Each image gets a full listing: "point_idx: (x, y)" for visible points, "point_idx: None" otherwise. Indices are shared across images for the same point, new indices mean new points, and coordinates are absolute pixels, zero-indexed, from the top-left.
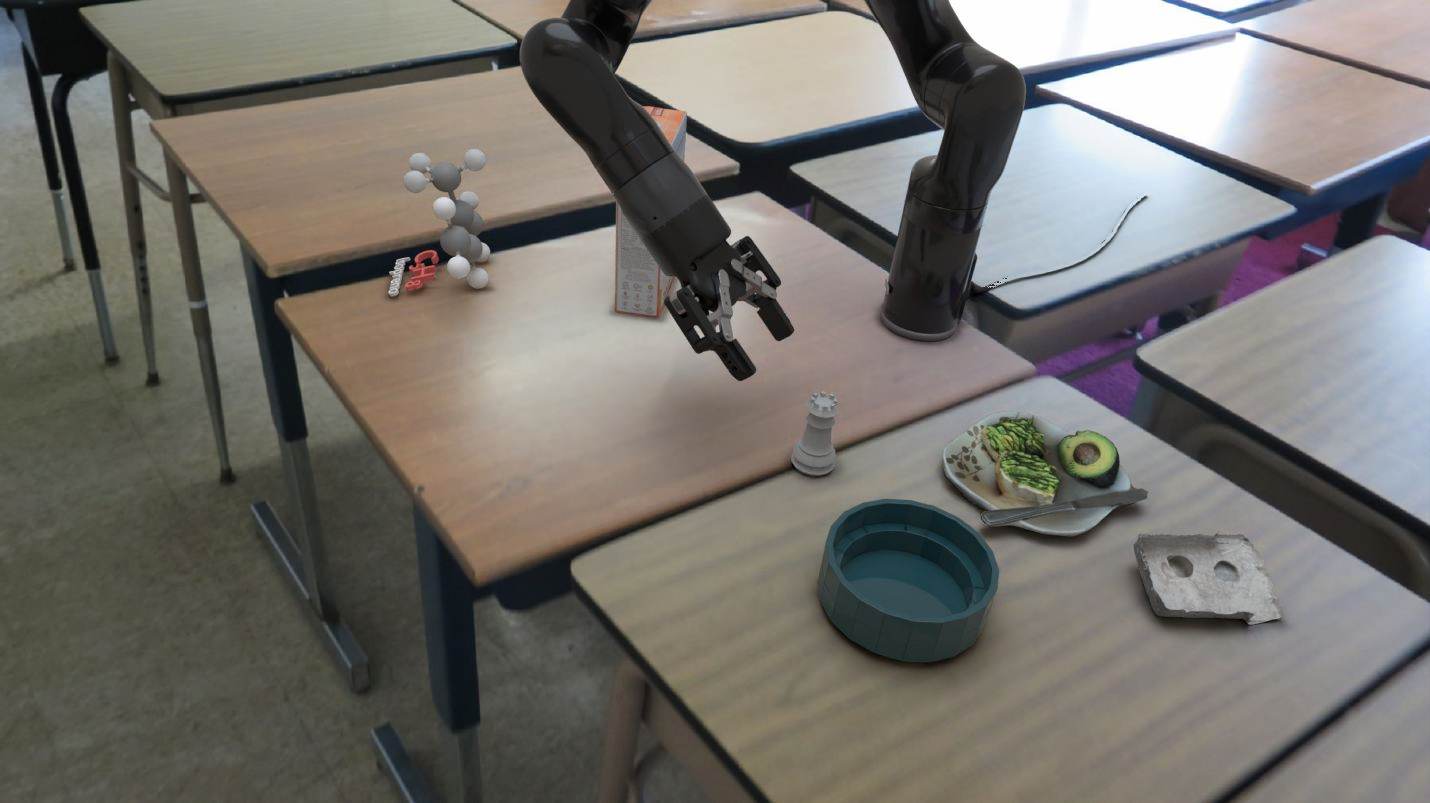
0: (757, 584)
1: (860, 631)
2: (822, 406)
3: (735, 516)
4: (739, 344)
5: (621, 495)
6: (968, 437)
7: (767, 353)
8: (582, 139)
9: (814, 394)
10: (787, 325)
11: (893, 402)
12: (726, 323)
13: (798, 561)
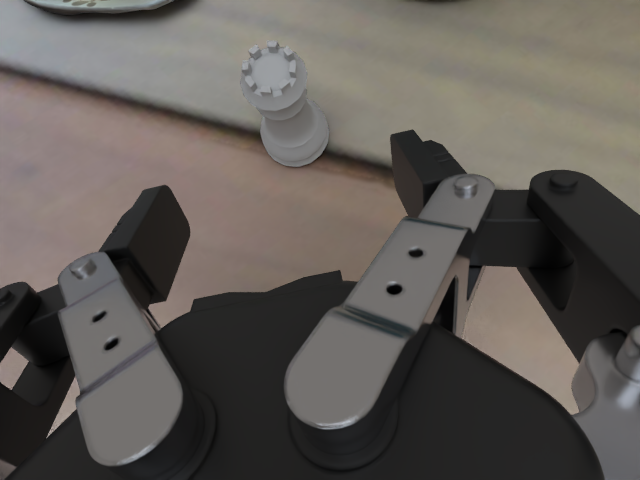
0: (554, 41)
1: None
2: (285, 63)
3: (472, 142)
4: (419, 170)
5: None
6: (101, 3)
7: None
8: None
9: (269, 89)
10: (157, 194)
11: (86, 141)
12: (447, 216)
13: (477, 32)
